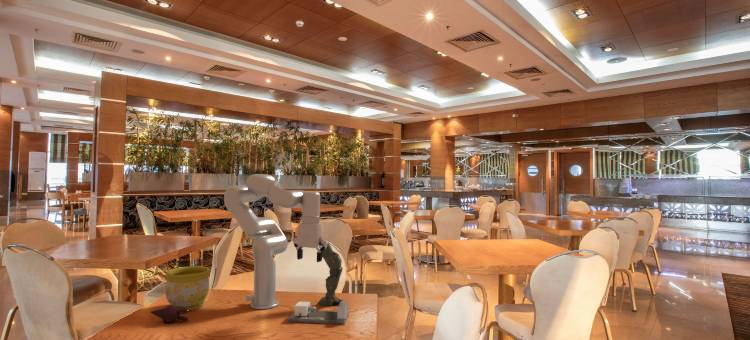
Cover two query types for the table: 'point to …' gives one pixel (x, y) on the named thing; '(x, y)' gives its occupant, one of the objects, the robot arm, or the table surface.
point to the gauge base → (324, 316)
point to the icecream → (170, 313)
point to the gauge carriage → (303, 308)
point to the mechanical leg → (331, 276)
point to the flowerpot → (187, 286)
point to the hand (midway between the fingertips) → (309, 260)
